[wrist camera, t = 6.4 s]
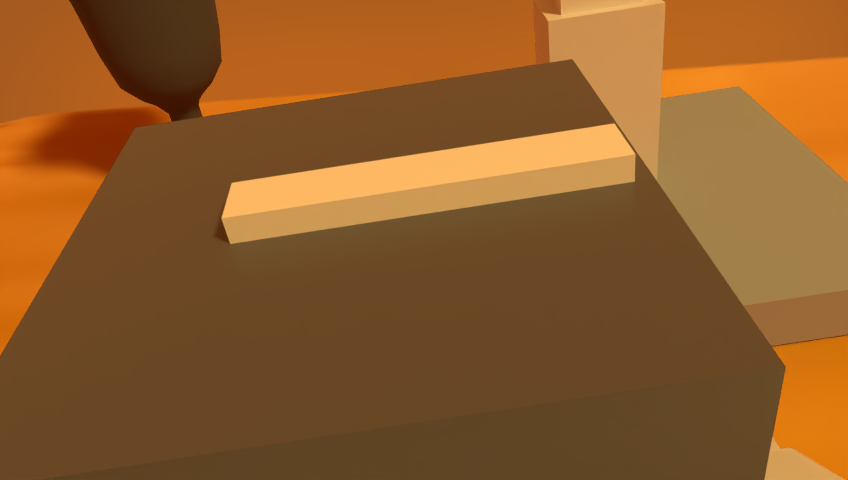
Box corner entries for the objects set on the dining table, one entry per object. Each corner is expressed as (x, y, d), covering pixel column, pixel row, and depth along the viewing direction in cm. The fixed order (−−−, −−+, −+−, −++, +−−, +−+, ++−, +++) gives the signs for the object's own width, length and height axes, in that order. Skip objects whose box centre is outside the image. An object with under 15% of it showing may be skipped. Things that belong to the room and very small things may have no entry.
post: (387, 403, 19) (319, 103, 14) (377, 177, 29) (335, -43, 24) (935, 321, 19) (1043, -10, 14) (734, 122, 29) (760, -110, 24)
